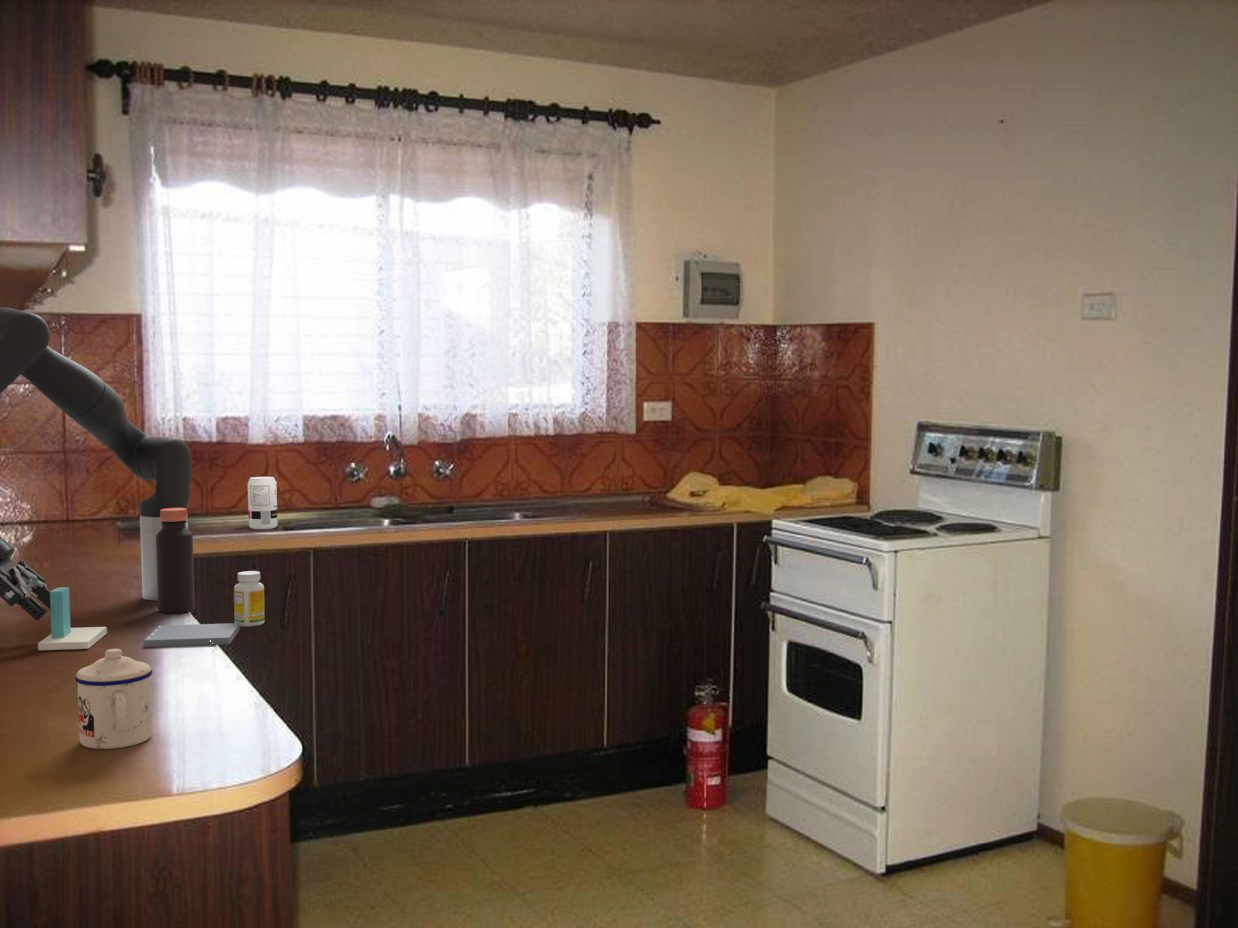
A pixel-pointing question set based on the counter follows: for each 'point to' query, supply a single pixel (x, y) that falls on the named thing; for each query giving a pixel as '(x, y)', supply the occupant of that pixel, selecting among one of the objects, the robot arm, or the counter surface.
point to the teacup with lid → (114, 702)
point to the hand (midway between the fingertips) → (50, 611)
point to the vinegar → (175, 563)
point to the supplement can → (262, 503)
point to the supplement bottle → (249, 599)
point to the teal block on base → (67, 626)
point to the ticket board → (192, 635)
